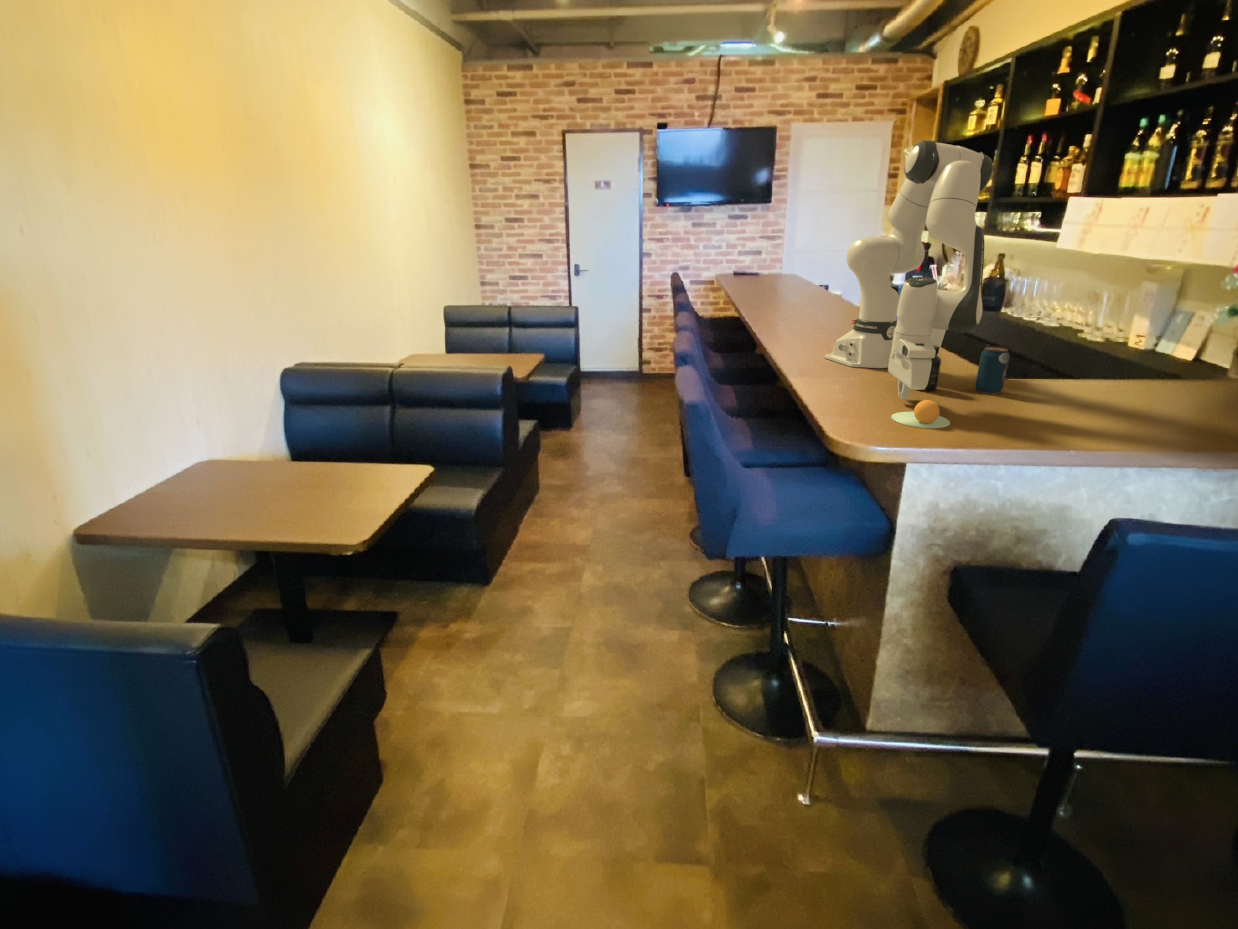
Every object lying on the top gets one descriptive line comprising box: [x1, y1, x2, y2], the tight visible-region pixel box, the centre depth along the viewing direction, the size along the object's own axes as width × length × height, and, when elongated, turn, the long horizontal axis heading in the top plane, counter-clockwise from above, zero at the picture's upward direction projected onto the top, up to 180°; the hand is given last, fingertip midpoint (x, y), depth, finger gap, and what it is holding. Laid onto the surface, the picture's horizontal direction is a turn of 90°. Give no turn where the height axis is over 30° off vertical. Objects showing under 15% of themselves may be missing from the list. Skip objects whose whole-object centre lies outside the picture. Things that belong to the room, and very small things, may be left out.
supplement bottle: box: [917, 345, 942, 392], centre depth 192 cm, size 7×7×12 cm
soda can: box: [974, 345, 1011, 395], centre depth 190 cm, size 7×7×12 cm
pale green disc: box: [890, 411, 951, 429], centre depth 166 cm, size 13×13×1 cm
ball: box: [913, 399, 940, 423], centre depth 163 cm, size 6×6×6 cm
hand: (902, 398), depth 179 cm, fingers closed
